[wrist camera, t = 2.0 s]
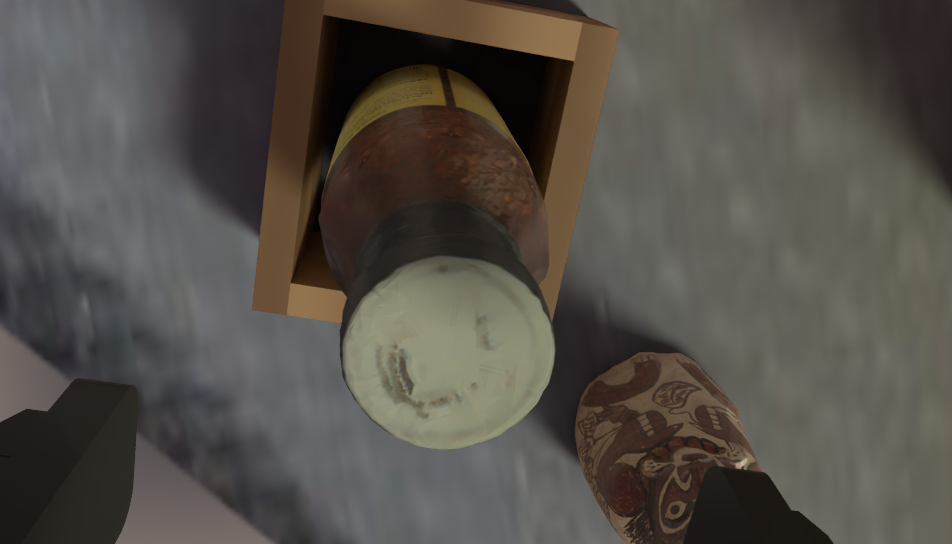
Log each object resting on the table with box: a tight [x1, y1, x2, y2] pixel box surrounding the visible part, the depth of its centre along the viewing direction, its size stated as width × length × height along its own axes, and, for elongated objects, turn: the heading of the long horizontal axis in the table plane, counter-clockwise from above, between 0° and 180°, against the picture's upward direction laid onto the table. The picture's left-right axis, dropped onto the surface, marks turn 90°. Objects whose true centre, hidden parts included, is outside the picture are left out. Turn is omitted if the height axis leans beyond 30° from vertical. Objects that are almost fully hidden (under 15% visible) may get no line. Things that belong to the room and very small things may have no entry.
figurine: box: [575, 352, 762, 544], centre depth 34 cm, size 7×7×12 cm
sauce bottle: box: [319, 64, 555, 449], centre depth 25 cm, size 7×6×20 cm
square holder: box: [252, 0, 619, 323], centre depth 32 cm, size 10×11×6 cm
